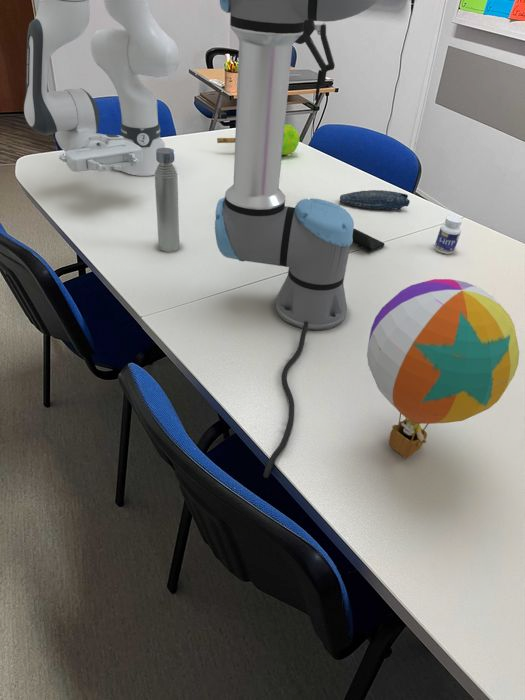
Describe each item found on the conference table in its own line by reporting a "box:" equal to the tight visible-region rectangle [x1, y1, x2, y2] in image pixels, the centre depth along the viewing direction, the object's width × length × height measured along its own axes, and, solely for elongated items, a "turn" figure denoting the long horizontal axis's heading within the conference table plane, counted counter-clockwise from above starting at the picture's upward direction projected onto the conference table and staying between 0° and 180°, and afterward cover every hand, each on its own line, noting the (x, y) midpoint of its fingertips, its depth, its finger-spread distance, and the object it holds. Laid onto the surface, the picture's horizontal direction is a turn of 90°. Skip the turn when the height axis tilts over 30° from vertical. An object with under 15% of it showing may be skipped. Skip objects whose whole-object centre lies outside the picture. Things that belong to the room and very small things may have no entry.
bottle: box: [154, 163, 180, 253], centre depth 123 cm, size 5×5×24 cm
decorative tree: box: [216, 124, 300, 156], centre depth 186 cm, size 18×10×30 cm
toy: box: [366, 278, 520, 459], centre depth 74 cm, size 20×20×30 cm
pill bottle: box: [434, 215, 463, 255], centre depth 137 cm, size 5×5×9 cm
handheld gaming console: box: [352, 228, 385, 253], centre depth 138 cm, size 12×7×10 cm
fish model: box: [339, 189, 411, 211], centre depth 158 cm, size 7×21×5 cm, turn 84°
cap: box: [156, 147, 175, 164], centre depth 116 cm, size 4×4×2 cm
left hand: (119, 165), depth 133 cm, fingers open, 8 cm apart
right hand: (290, 96), depth 133 cm, fingers open, 13 cm apart
